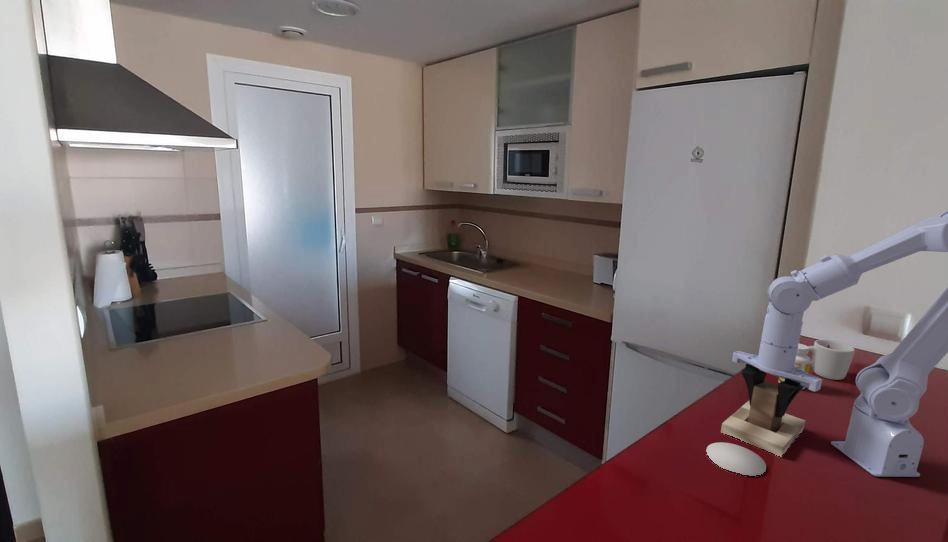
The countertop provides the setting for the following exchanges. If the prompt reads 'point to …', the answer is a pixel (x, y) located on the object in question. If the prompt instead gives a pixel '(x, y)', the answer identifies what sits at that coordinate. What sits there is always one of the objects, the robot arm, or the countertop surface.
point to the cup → (831, 358)
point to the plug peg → (764, 407)
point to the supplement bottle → (801, 360)
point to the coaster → (736, 459)
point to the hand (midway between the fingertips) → (766, 410)
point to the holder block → (763, 431)
